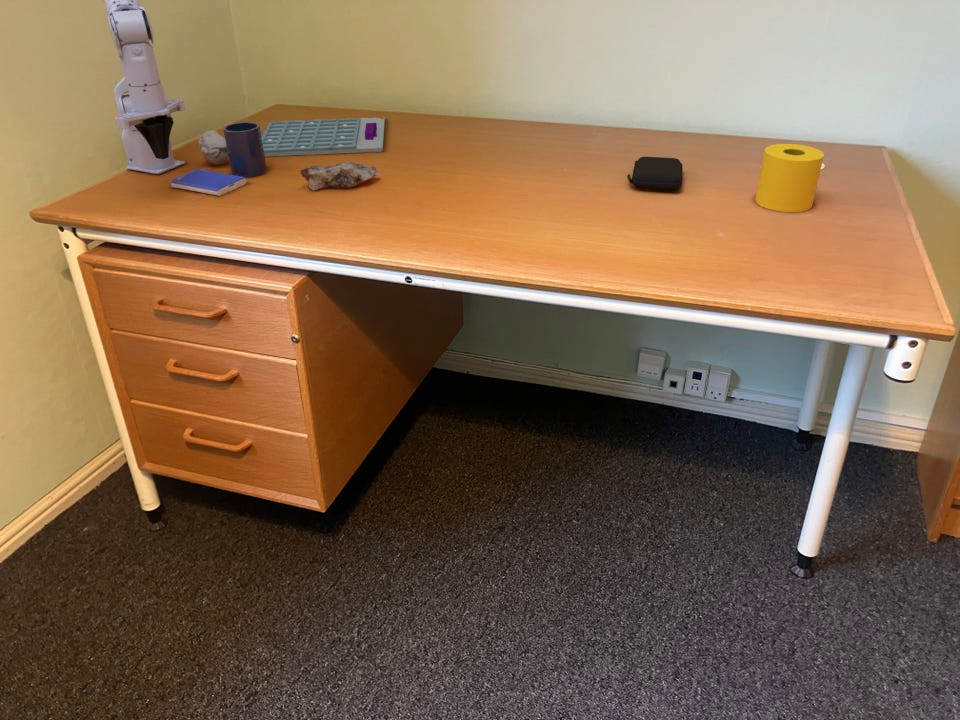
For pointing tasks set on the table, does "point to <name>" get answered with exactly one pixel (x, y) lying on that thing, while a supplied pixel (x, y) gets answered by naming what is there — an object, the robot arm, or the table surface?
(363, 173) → the mineral rock
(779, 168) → the yellow toilet paper roll
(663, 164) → the carrying case
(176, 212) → the table surface
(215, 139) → the grey rounded lump
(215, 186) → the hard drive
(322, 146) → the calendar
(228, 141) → the pen cup
